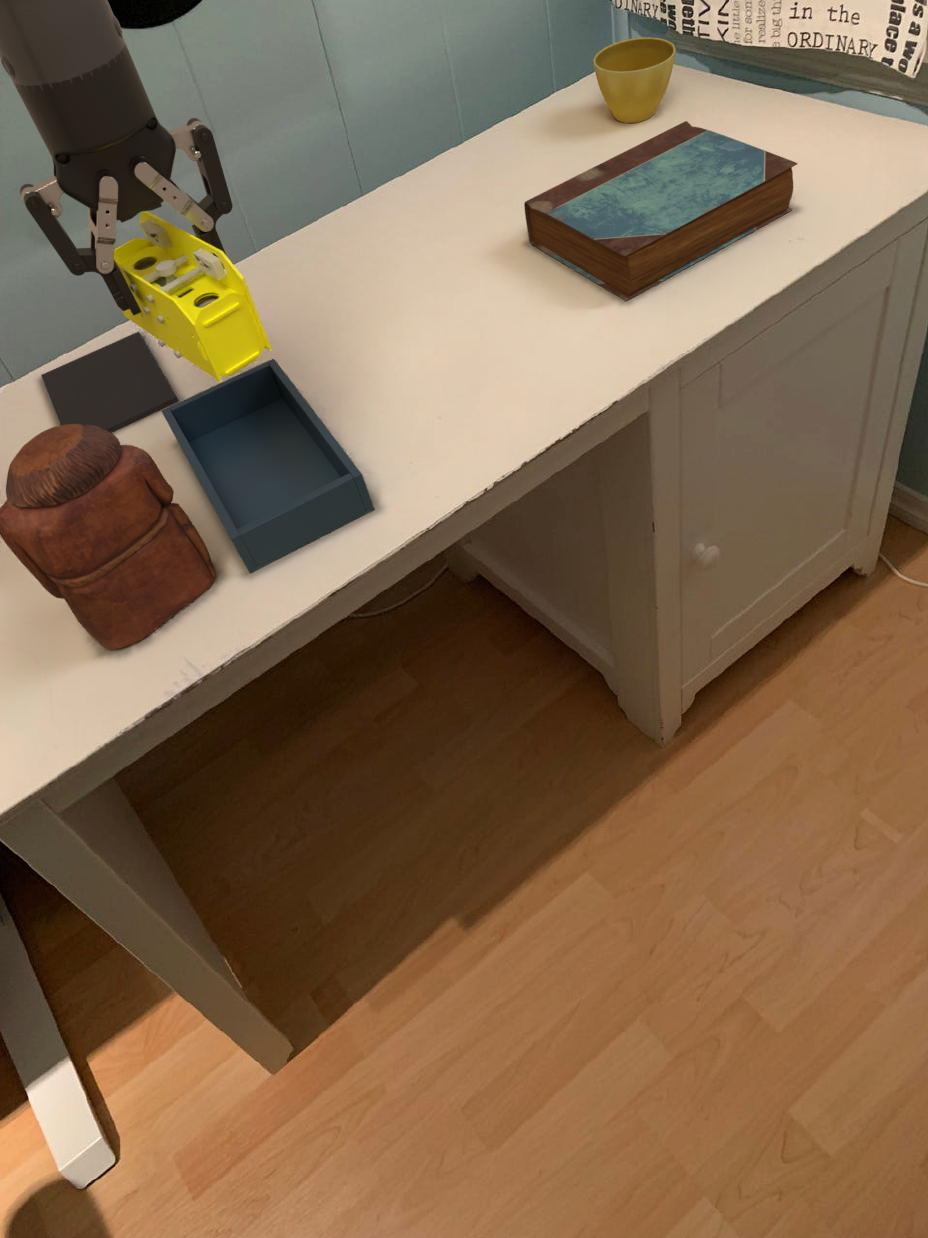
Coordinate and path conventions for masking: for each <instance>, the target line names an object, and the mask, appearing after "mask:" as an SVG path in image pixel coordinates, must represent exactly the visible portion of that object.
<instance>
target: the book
mask: <svg viewBox="0 0 928 1238" xmlns="http://www.w3.org/2000/svg"><path fill="white" fill-rule="evenodd" d="M798 164H799V163H798V162H797V161H793V160H791V159H788V158H786V157H783V156H780V155H777V154H775V153H772V152H770V151H767V150H764V149H761V148H760V147H756V146H754V145H751V144H748V143H747V142H743V141H740V140H737V139H735V138H732V137H730V136H727V135H724V134H721V133H718V132H716V131H713V130H709V129H706V128H703V127H700V126H692V125H691V124H690V122H688V121H687V120H685V121H683V122H680V123H679V124H676V125H674V126H673V127H671V128H669V129H667V130H665V131H663V132H661V133H659V134H657V135H655V136H653V137H651V138H649V139H647V140H644V141H643V142H641V143H638V144H637V145H635V146H633V147H631V148H629V149H627V150H625V151H623V152H622V153H619V154H617V155H615V156H613V157H611V158H609V159H607V160H605V161H603V162H601V163H599V164H597V165H596V166H593V167H591V168H588V169H587V170H586V171H583V172H581V173H579V174H577V175H576V176H573V177H571V178H569V179H567V180H566V181H564V182H562V183H559V184H558V185H555V186H553V187H552V188H550V189H547V190H545V191H543V192H542V193H539V194H538V195H536V196H534V197H532V198H529V199H528V200H525V201H524V205H523V206H524V215H525V222H526V223H525V224H526V229H527V235H528V241H529V243H530V245H531V246H533V247H536V248H537V249H539V250H540V251H542V252H544V253H545V254H547V255H549V256H550V257H551V258H553V259H555V260H557V261H558V262H560V263H561V264H563V265H565V266H567V267H568V268H570V269H571V270H573V271H575V272H576V273H578V274H580V275H581V276H583V277H585V278H587V279H588V280H589V281H591V282H594V283H595V284H596V285H599V287H601V288H603V289H604V290H606V291H608V292H610V293H611V294H613V295H615V296H617V297H618V298H620V299H622V300H623V301H626V302H627V301H629V300H631V299H633V298H635V297H636V296H638V295H640V294H643V293H644V292H646V291H647V290H648V291H649V289H651V288H653V287H655V286H657V285H659V284H660V283H662V282H664V281H665V280H667V279H670V278H671V277H673V276H676V274H678V273H680V272H682V271H684V270H686V269H688V268H689V267H691V266H693V265H695V264H697V263H699V262H700V261H702V260H704V259H705V258H707V257H709V256H711V255H713V254H715V253H717V252H718V251H721V250H722V249H724V248H727V246H730V245H731V244H733V243H735V242H737V241H739V240H741V239H742V238H743V237H746V236H748V235H750V234H751V233H753V232H755V231H757V230H758V229H760V228H762V227H764V226H766V225H768V224H770V223H771V222H773V221H775V220H777V219H778V218H781V217H782V216H785V215H786V214H788V213H790V212H791V211H793V208H791V207H789V206H790V202H791V200H792V197H793V194H794V178H793V177H794V176H793V175H794V173H793V168H794V167H795V166H797V165H798Z"/></svg>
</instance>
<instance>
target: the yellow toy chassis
mask: <svg viewBox="0 0 928 1238" xmlns="http://www.w3.org/2000/svg"><path fill="white" fill-rule="evenodd" d="M138 223H139V226H140V227H141V230H142V232H143V234H144V236H145V238H141V237H140V238H139V237H134V238H132V239H131V240H129V241H126V242H124V243H123V244H121V245H119V246H117V247H116V248H114V260H115V262H116V263H117V265H118V267H119V269H120V270H121V272H122V274H123V276H124V278H125V280H126V282H127V284H128V286H129V288H130V290H131V292H132V294H133V296H134V298H135V300H136V302H137V304H138V306H139V308H140V310H141V313H139V314H136V315H134V316H133V314H132V312H131V310H130V309H128V310H126V311H123V310H122V309H120V310H121V312H122V315H123V316H124V317H125V318H126V319H128V320H129V321H130V322H132V323H133V324H135V325H137V326H138V327H139V328H141V329H142V330H144V331H145V332H146V333H148V334H150V335H151V336H152V337H154V338H155V339H156V340H157V343H158V345H159V346H160V347H161V348H164V347H165V346H167V347H168V348H169V349H171V350H173V354H174V356H175V357H176V359H181V358H182V357H183V358H184V359H186V360H187V361H189V363H191V364H192V365H194V366H196V367H197V368H198V369H200V370H201V371H203V373H206V374H207V375H208V376H210V377H211V378H213V379H214V380H215V381H217V382H218V383H222V382H223V379H222V377H232V376H233V375H236V373H238V372H239V371H241V370H242V369H244V368H246V367H247V366H249V365H250V364H253V363H254V362H255V361H257V360H258V359H259V358H260V357H261V355H262V353H263V351H264V349H266V350H267V351H269V352H271V351H273V348H272V345H271V342H270V341H269V337H268V335H267V333H266V329H265V328H264V325H263V323H262V320H261V317H260V315H259V312H258V310H257V307H256V305H255V303H254V299H253V297H252V295H251V292H250V290H249V288H248V285H247V282H246V280H245V278H244V276H243V275H242V274H241V272H240V271H239V270H238V268H237V267H236V266H235V265H234V264H233V262H232V261H231V260H230V258H229V257H228V255H227V254H226V255H227V256H226V255H225V254H224V252H223V251H221V250H219V249H217V248H216V247H214V246H212V245H210V244H208V243H206V242H204V241H202V240H200V239H199V238H197V237H196V235H193V234H191V233H189V232H187V231H185V230H184V229H182V228H180V227H178V226H176V225H174V224H172V223H171V222H168V221H166V220H164V219H163V218H160V217H159V216H157V215H155V214H153V213H151V212H149V211H142V212H140V216H139V222H138ZM213 253H214V254H216V255H217V256H218V257H216V256H214V255H213ZM220 260H221V261H220ZM221 262H222V263H221ZM222 264H223V266H224V268H223V266H222Z"/></svg>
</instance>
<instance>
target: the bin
mask: <svg viewBox="0 0 928 1238" xmlns="http://www.w3.org/2000/svg"><path fill="white" fill-rule="evenodd" d="M292 381H293V380H291V378H290V377H289V376H288V374H287V373H286V372H285V371H284V369H283V368H282V366H280V364H279V363H278V362H277V360H276V359H275V358H271V359H269V360H267V361H265V362H263V363H260V364H258V365H256V366H254V367H251V368H250V369H247V370H246V371H243V372H241V373H239V374H237V375H234V376H233V377H232V376H231V377H230V378H228V379H226V380H223V381H222V382H218V384H215V385H213V386H211V387H208V388H207V389H205V390H202V391H201V392H198V393H196V394H194V395H192V396H190V397H188V398H185V399H183V400H181V401H178V402H176V403H173V404H171V405H169V406H167V407H165V408H163V409H160V412H161V413H162V415H163V417H164V419H165V421H166V423H167V424H168V426H169V428H170V430H171V432H172V434H173V435H174V437H175V439H176V441H177V443H178V445H179V447H180V448H181V450H182V452H183V454H184V456H185V458H186V459H187V461H188V463H189V465H190V467H191V468H192V470H193V472H194V474H195V476H196V478H197V480H198V482H199V483H200V485H201V488H202V489H203V491H204V493H205V494H206V496H207V498H208V500H209V502H210V503H211V506H212V508H213V509H214V511H215V513H216V515H217V516H218V518H219V520H220V522H221V524H222V526H223V527H224V530H226V533H227V535H228V537H229V539H230V541H231V542H232V544H233V546H234V548H235V549H236V552H237V553H238V556H240V558H241V560H242V562H243V565H244V566H245V567H246V569H247V571H248V573H249V574H252V573H254V572H256V571H258V570H260V569H263V567H266V566H268V565H270V564H272V563H274V562H275V561H278V560H279V559H282V558H283V557H285V556H288V555H289V554H291V553H293V552H296V551H297V550H299V549H301V548H303V547H304V546H307V545H309V544H311V543H313V542H314V541H316V540H319V539H320V538H322V537H324V536H326V535H328V534H331V533H332V532H334V531H336V530H338V529H340V528H342V527H343V526H345V525H348V524H349V523H352V522H354V521H356V520H358V519H359V518H361V517H363V516H365V515H367V514H370V513H372V511H375V507H374V504H373V501H372V498H371V496H370V492H369V490H368V487H367V484H366V482H365V479H364V476H363V473H362V472H361V471H360V470H359V468H358V466H357V465H356V464H355V463H354V462H353V460H352V459H351V458H350V456H349V455H348V454H347V452H346V451H345V449H344V448H343V447H342V446H341V444H340V443H339V442H338V440H337V439H336V438H335V436H334V435H333V434H332V433H331V431H330V430H329V429H328V427H327V426H326V425H325V424H324V422H323V421H322V420H321V418H320V417H319V416H318V414H317V413H316V411H315V410H314V409H313V407H312V406H311V405H310V404H309V402H308V401H307V400H306V399H305V397H304V396H303V394H302V393H301V392H300V391H299V389H298V387H296V385H295V384H294V382H292Z"/></svg>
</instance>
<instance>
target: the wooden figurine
mask: <svg viewBox="0 0 928 1238" xmlns="http://www.w3.org/2000/svg"><path fill="white" fill-rule="evenodd" d="M6 475H7V476H6V483H5V495H6V496H5V497H6V500H5V501H4V503H3V504H2V505H1V507H0V537H1V539H2V541H3V542H4V543H5V545H6V546H7V547H8V548H9V550H10V551H11V553H13V555H14V556H15V557H16V558H17V559H18V560H19V561H20V563H21V564H22V565H23V566H24V567H25V569H27V570H28V571H29V573H30V574H31V575H32V576H33V577H34V578H35V579H36V581H38V583H39V584H40V585H41V586H42V588H44V589H45V590H46V592H47V593H48V594H50V595H51V596H52V597H54V598H56V599H62V600H64V601H65V602H66V604H67V606H68V607H69V609H70V612H71V613H72V614H73V615H74V617H75V618H76V621H77V622H78V623H79V624H80V626H81V627H82V628H83V629H84V630H85V632H86V633H88V634H89V635H90V636H91V637H92V638H93V639H94V640H95V641H96V642H98V644H99V645H100V646H101V647H102V648H104V649H105V650H119V649H122V648H125V647H128V646H130V645H132V644H134V643H138V642H140V641H142V640H143V639H145V638H146V637H148V636H149V635H150V634H152V633H154V631H155V630H157V629H158V628H160V627H161V626H162V625H163V624H165V622H167V621H168V620H169V619H171V618H172V617H173V616H175V614H177V613H178V612H179V611H181V610H182V609H184V608H185V607H187V606H188V605H189V604H190V603H192V602H193V601H194V600H196V599H197V598H199V596H201V595H203V593H204V592H205V591H207V590H208V589H210V588H211V587H212V586H213V584H214V582H215V579H216V576H217V572H216V568H215V566H214V563H213V561H212V558H211V554H210V552H209V550H208V548H207V546H206V543H205V542H204V540H203V538H202V536H201V535H200V532H199V531H198V529H197V528H196V526H195V525H194V524H193V522H192V520H191V518H190V517H189V515H188V514H187V513H186V512H185V511H184V509H183V508H182V506H181V505H180V504H179V503H176V502H173V501H174V493H175V491H174V488H173V487H172V486H171V485H170V484H169V482H168V481H167V479H166V478H165V477H164V475H163V473H162V472H161V470H160V469H159V467H158V465H157V463H156V461H155V460H154V459H153V457H152V455H150V454H149V452H148V451H147V450H144V449H142V448H140V447H138V446H135V445H133V444H132V445H131V444H121V442H120V440H119V438H118V437H117V436H116V435H115V434H114V433H113V432H108V431H106V430H104V429H102V428H100V427H98V426H94V425H87V424H68V425H56V426H52V427H50V428H47V429H46V430H43V431H41V432H40V433H38V434H36V435H35V436H34V437H32V438H31V439H29V441H28V442H25V444H23V446H22V447H21V448H20V449H19V450H18V452H17V453H16V454H15V456H14V457H13V459H12V460H11V462H10V464H9V467H8V470H7V474H6Z"/></svg>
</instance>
